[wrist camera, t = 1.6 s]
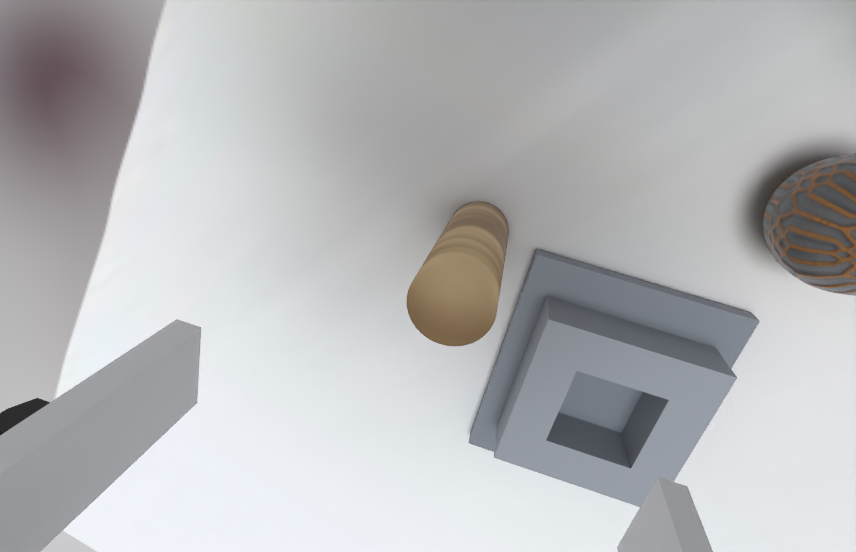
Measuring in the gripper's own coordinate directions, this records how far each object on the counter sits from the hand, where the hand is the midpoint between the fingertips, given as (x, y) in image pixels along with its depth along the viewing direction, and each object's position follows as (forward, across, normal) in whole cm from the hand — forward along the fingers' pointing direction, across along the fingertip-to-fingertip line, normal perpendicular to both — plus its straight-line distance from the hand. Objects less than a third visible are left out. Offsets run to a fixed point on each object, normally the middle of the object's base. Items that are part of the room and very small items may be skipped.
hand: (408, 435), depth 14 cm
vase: (+21, +18, +7) cm, 28 cm away
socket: (+20, +11, -8) cm, 24 cm away
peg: (+20, 0, 0) cm, 21 cm away
